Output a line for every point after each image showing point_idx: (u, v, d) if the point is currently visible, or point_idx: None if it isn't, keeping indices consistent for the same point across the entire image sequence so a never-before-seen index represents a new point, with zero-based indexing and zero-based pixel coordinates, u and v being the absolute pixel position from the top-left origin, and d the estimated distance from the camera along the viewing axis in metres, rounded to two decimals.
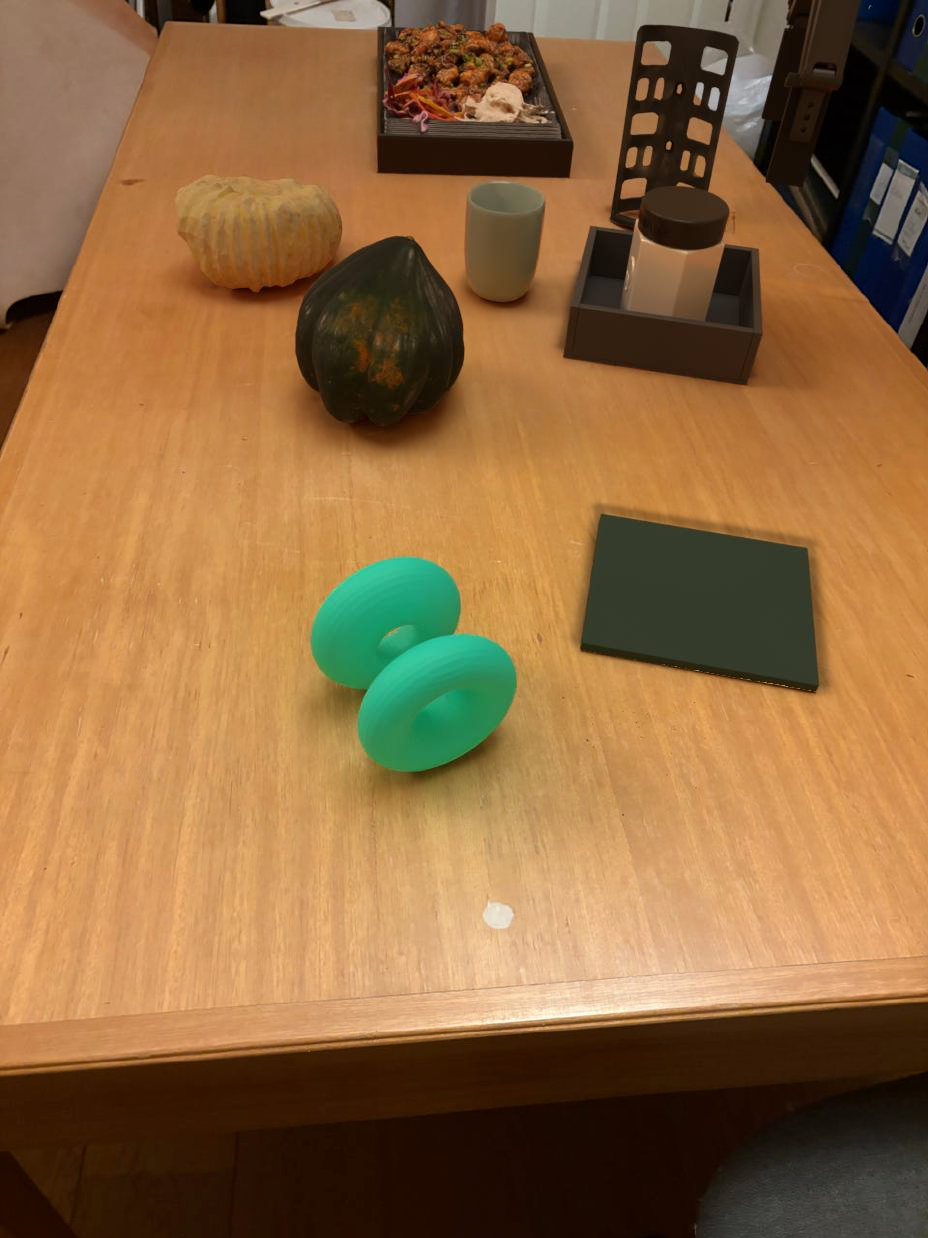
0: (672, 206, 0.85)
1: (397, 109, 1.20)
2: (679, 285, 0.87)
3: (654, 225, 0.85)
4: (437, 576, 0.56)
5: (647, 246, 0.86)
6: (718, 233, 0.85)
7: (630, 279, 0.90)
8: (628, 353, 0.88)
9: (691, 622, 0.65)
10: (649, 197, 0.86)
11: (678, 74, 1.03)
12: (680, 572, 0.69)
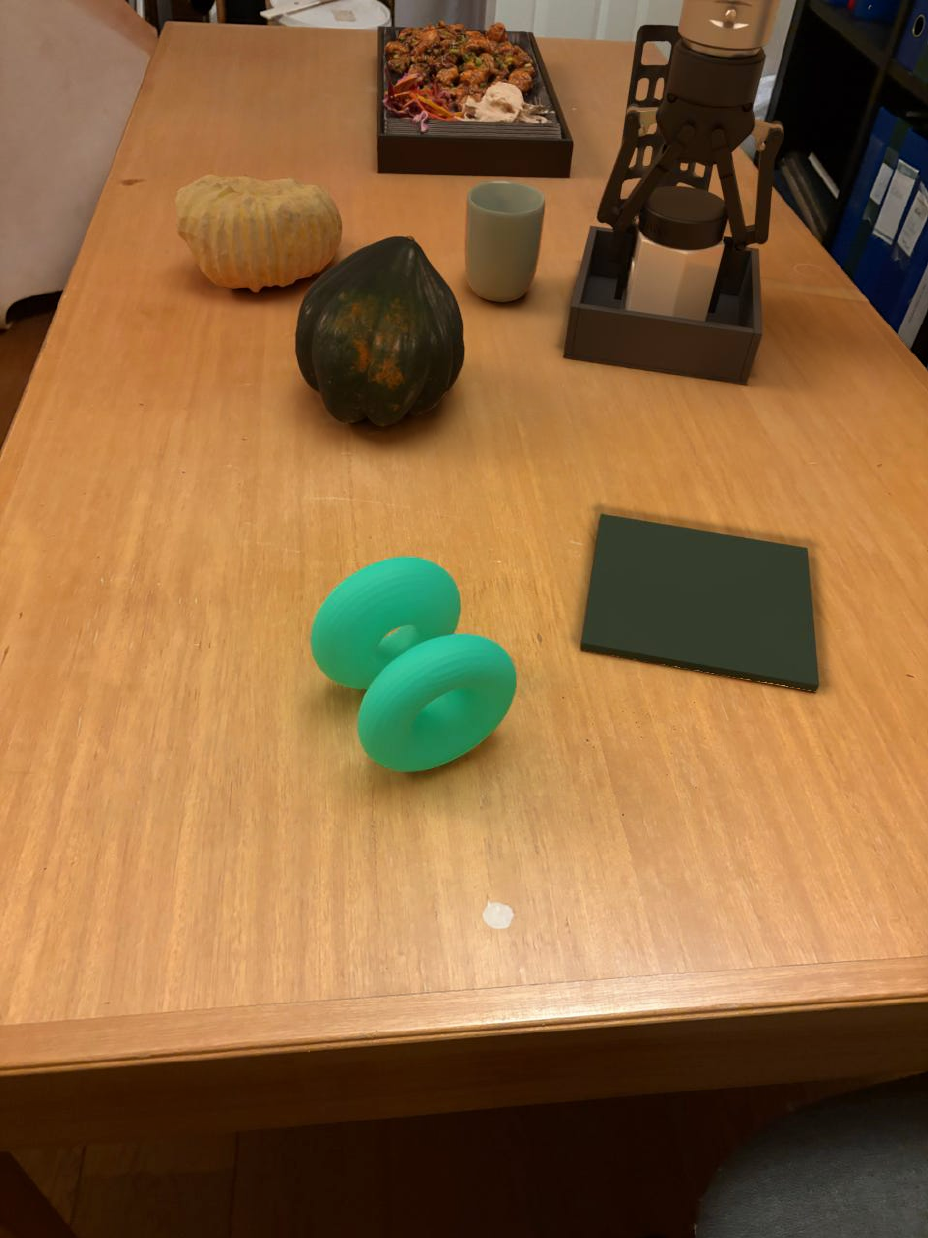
0: (672, 206, 0.85)
1: (397, 109, 1.20)
2: (679, 285, 0.87)
3: (654, 225, 0.85)
4: (437, 576, 0.56)
5: (647, 246, 0.86)
6: (718, 233, 0.85)
7: (630, 279, 0.90)
8: (628, 353, 0.88)
9: (691, 622, 0.65)
10: (649, 197, 0.86)
11: None
12: (680, 572, 0.69)
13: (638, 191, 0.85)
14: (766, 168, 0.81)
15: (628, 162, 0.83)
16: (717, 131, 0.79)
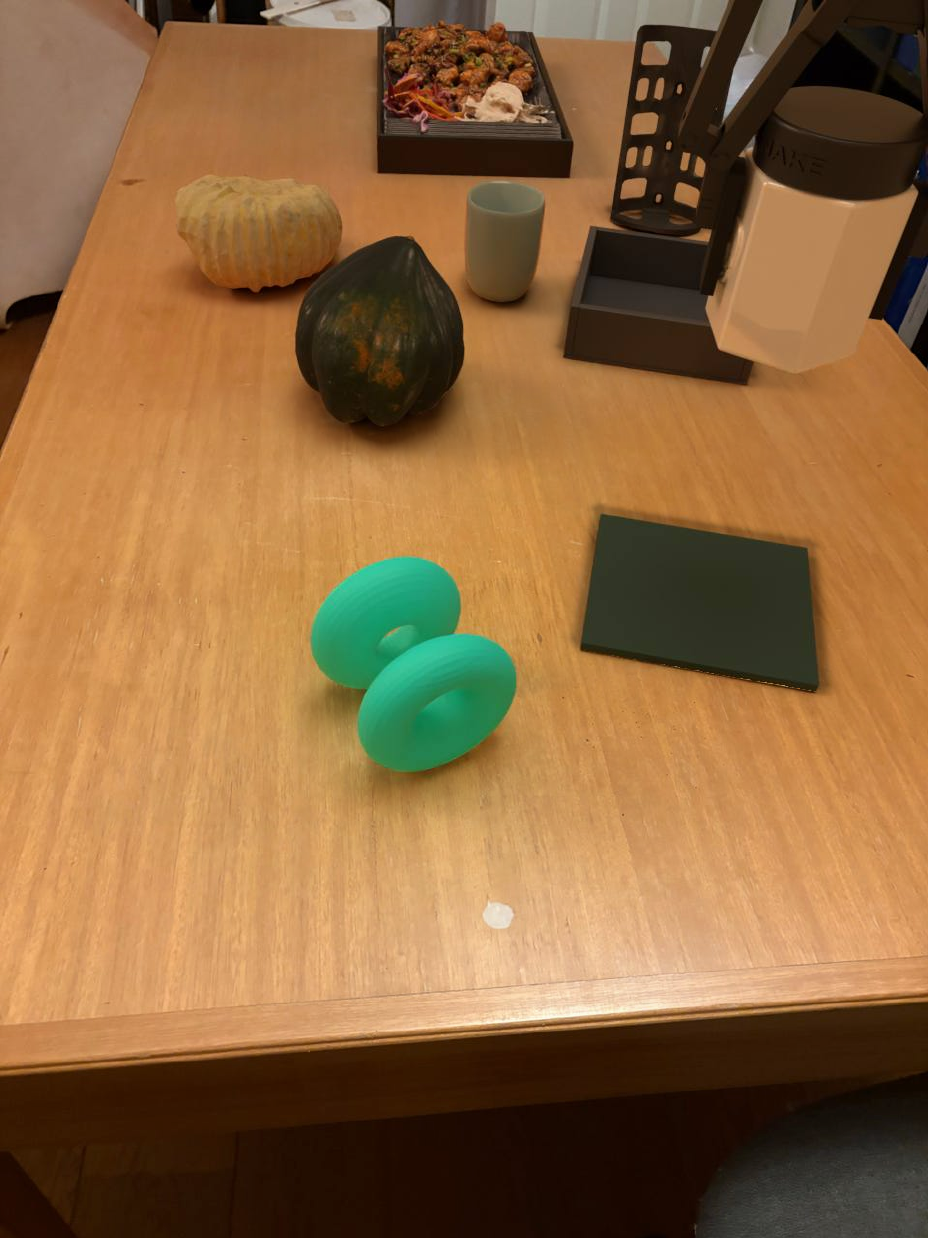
0: (824, 118, 0.45)
1: (397, 109, 1.20)
2: (830, 268, 0.47)
3: (792, 153, 0.44)
4: (437, 576, 0.56)
5: (774, 195, 0.46)
6: (912, 169, 0.45)
7: (734, 258, 0.50)
8: (628, 353, 0.88)
9: (691, 622, 0.65)
10: None
11: (678, 74, 1.03)
12: (680, 572, 0.69)
13: (761, 88, 0.45)
14: None
15: (746, 28, 0.43)
16: None
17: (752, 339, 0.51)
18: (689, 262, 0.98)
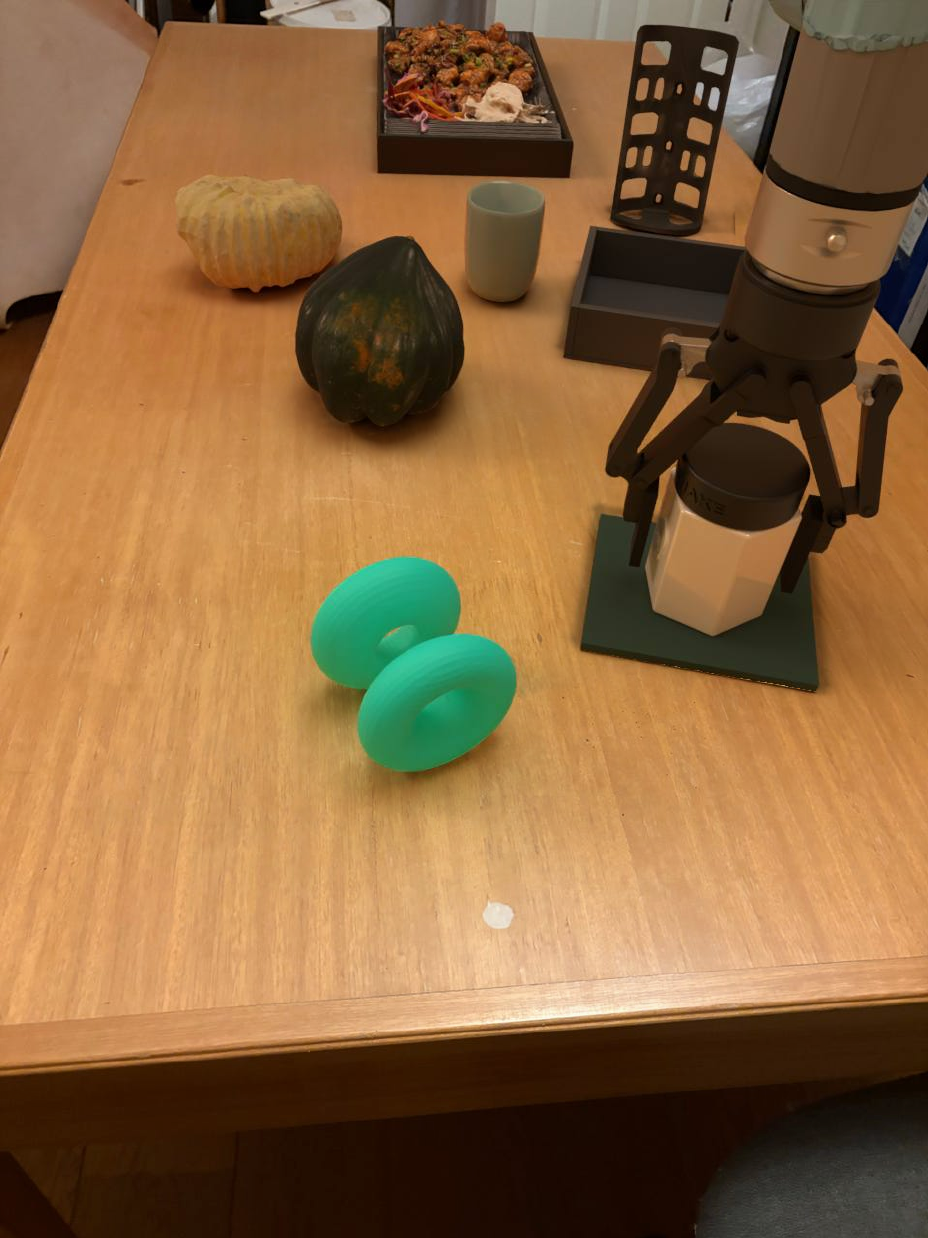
0: (726, 467, 0.58)
1: (397, 109, 1.20)
2: (734, 573, 0.60)
3: (701, 496, 0.58)
4: (437, 576, 0.56)
5: (689, 521, 0.59)
6: (795, 507, 0.58)
7: (662, 550, 0.63)
8: (628, 353, 0.88)
9: None
10: (692, 448, 0.59)
11: (678, 74, 1.03)
12: None
13: (670, 444, 0.58)
14: (876, 427, 0.54)
15: (658, 409, 0.56)
16: (799, 384, 0.52)
17: (678, 609, 0.64)
18: (689, 262, 0.98)
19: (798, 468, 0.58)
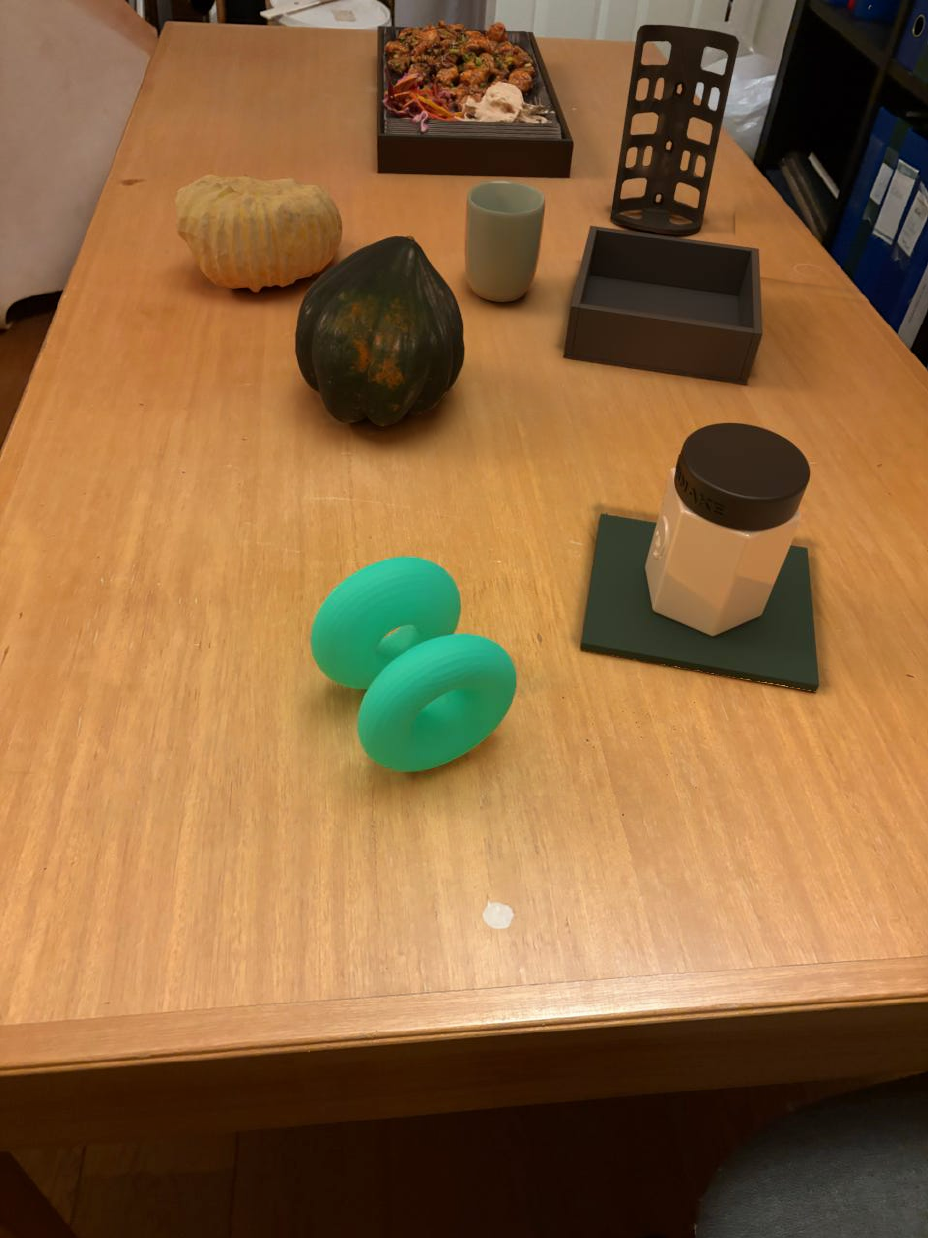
0: (726, 467, 0.58)
1: (397, 109, 1.20)
2: (734, 573, 0.60)
3: (701, 496, 0.58)
4: (437, 576, 0.56)
5: (689, 521, 0.59)
6: (794, 507, 0.58)
7: (662, 550, 0.63)
8: (628, 353, 0.88)
9: None
10: (692, 448, 0.59)
11: (678, 74, 1.03)
12: None
13: None
14: None
15: None
16: None
17: (678, 609, 0.64)
18: (689, 262, 0.98)
19: (798, 468, 0.58)
